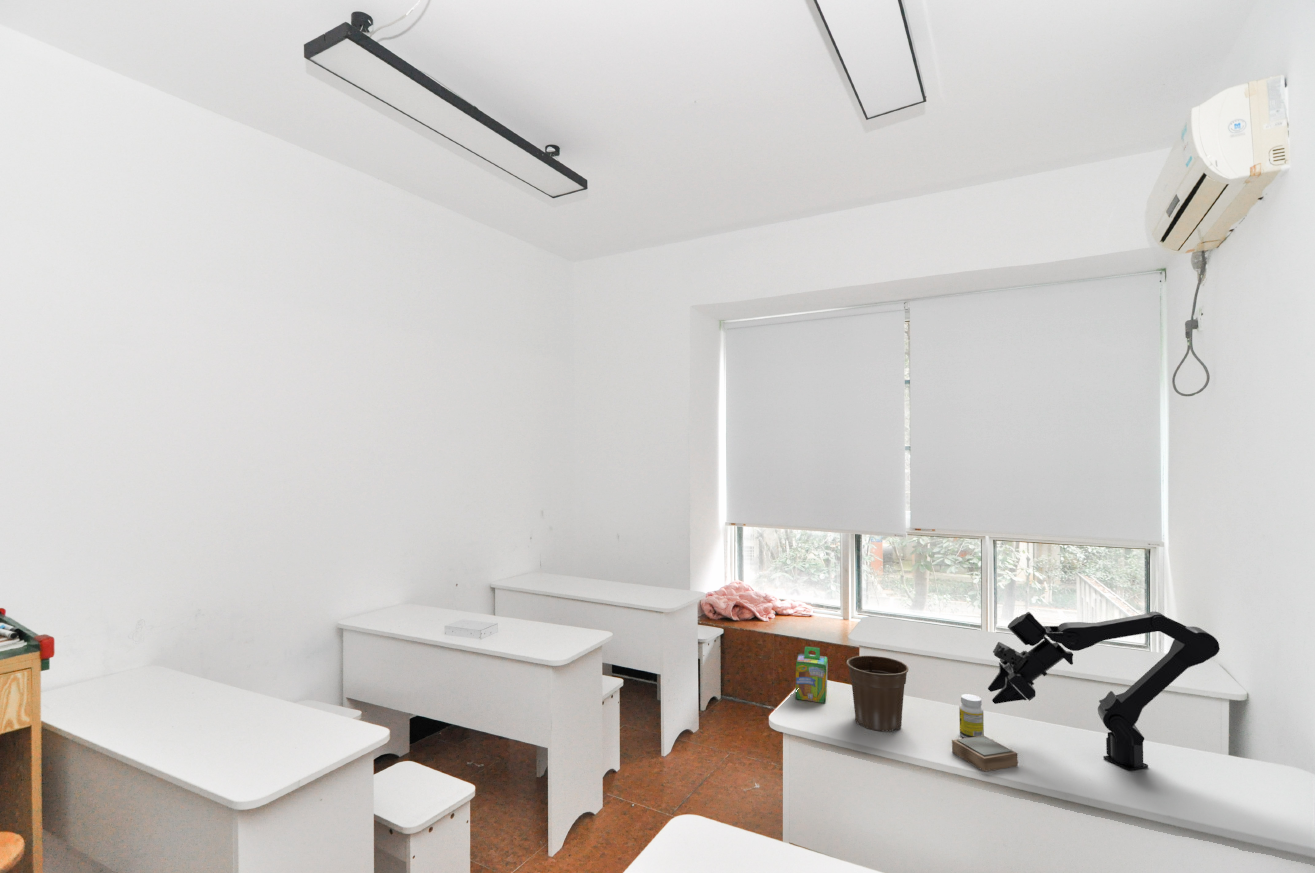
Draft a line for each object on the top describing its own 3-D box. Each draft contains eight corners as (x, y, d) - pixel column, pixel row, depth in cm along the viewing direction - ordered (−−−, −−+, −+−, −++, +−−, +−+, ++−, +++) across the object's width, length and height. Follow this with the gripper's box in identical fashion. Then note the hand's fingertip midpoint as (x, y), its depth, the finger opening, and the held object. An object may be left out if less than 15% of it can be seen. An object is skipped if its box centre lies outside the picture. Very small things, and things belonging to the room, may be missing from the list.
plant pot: (850, 732, 162) (850, 671, 163) (843, 708, 178) (843, 653, 179) (915, 738, 159) (914, 675, 160) (901, 713, 175) (901, 657, 176)
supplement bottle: (962, 729, 165) (962, 691, 166) (986, 735, 161) (985, 696, 162) (957, 736, 161) (956, 697, 161) (981, 743, 157) (980, 703, 157)
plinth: (1017, 765, 145) (1017, 751, 145) (984, 771, 142) (984, 757, 142) (983, 747, 155) (983, 734, 155) (952, 752, 152) (952, 738, 152)
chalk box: (795, 699, 185) (795, 650, 186) (797, 689, 193) (798, 642, 194) (826, 703, 182) (826, 653, 183) (827, 693, 191) (828, 645, 191)
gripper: (1008, 625, 167) (964, 660, 171) (1019, 643, 150) (969, 681, 154) (1042, 658, 164) (996, 693, 167) (1057, 680, 147) (1005, 719, 150)
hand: (991, 695), depth 160 cm, fingers open, 9 cm apart
